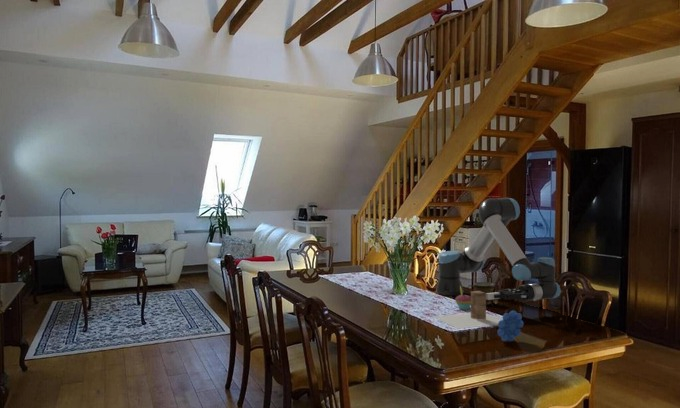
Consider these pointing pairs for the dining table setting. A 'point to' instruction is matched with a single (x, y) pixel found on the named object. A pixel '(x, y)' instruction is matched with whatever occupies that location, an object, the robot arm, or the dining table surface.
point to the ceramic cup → (483, 288)
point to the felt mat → (467, 320)
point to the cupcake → (463, 301)
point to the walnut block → (478, 305)
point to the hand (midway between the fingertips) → (486, 296)
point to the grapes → (510, 326)
